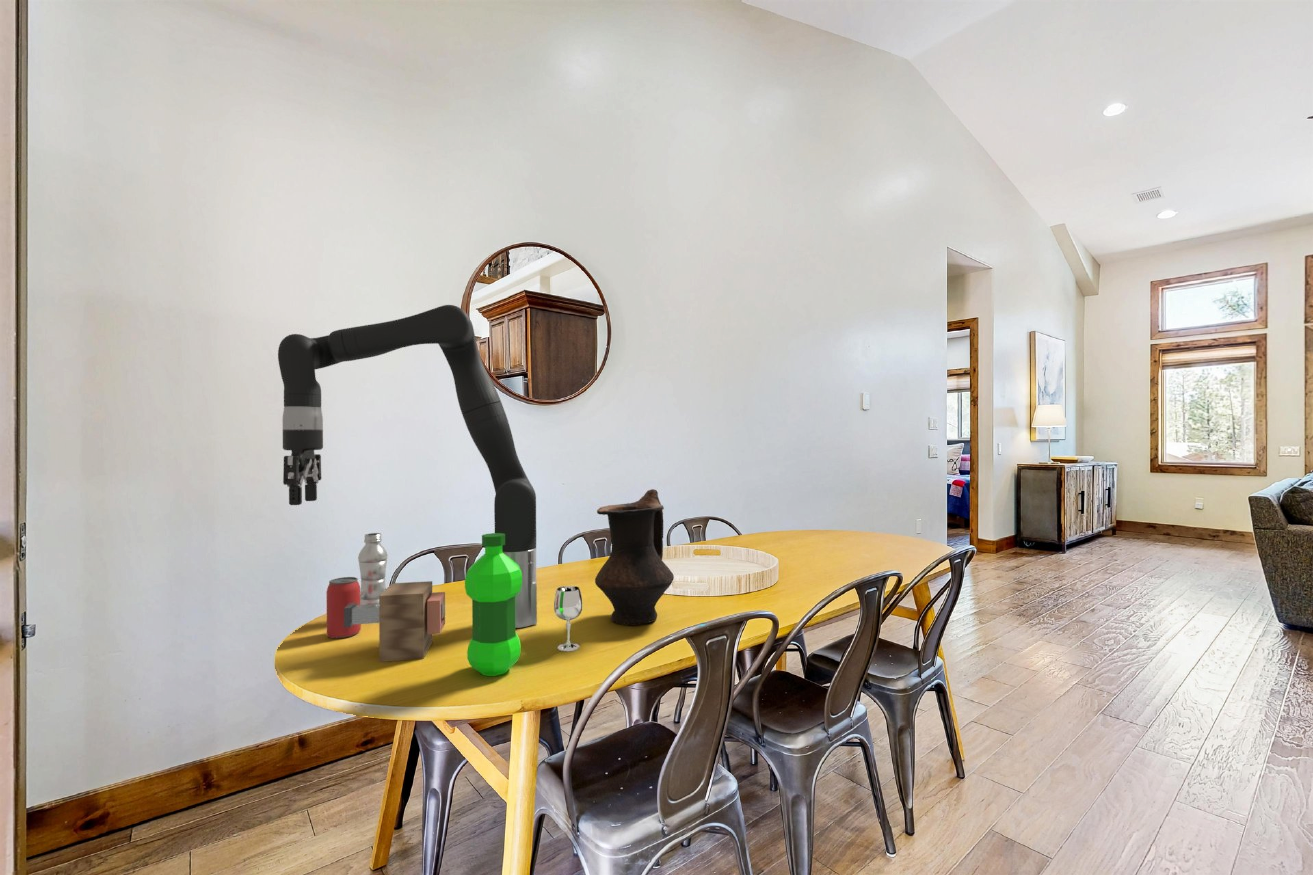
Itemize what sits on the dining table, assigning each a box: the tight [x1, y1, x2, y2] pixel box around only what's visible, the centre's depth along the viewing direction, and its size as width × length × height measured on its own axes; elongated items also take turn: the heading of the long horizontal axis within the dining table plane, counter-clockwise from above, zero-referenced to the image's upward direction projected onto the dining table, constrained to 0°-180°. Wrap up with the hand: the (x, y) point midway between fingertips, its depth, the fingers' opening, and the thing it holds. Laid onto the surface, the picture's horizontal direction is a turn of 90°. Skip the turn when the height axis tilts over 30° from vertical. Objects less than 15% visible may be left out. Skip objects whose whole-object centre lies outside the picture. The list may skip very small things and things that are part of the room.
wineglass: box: [553, 585, 583, 652], centre depth 120 cm, size 6×6×12 cm
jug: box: [594, 488, 675, 626], centre depth 139 cm, size 21×18×30 cm
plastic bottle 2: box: [464, 532, 522, 677], centre depth 108 cm, size 10×10×25 cm
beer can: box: [326, 576, 362, 639], centre depth 129 cm, size 7×7×12 cm
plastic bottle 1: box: [357, 532, 388, 605], centre depth 141 cm, size 6×7×20 cm
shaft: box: [344, 599, 446, 628], centre depth 118 cm, size 18×4×4 cm, turn 101°
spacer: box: [427, 591, 446, 635], centre depth 119 cm, size 2×7×7 cm, turn 12°
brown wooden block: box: [378, 580, 434, 663], centre depth 118 cm, size 8×10×13 cm
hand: (303, 502), depth 127 cm, fingers open, 8 cm apart
